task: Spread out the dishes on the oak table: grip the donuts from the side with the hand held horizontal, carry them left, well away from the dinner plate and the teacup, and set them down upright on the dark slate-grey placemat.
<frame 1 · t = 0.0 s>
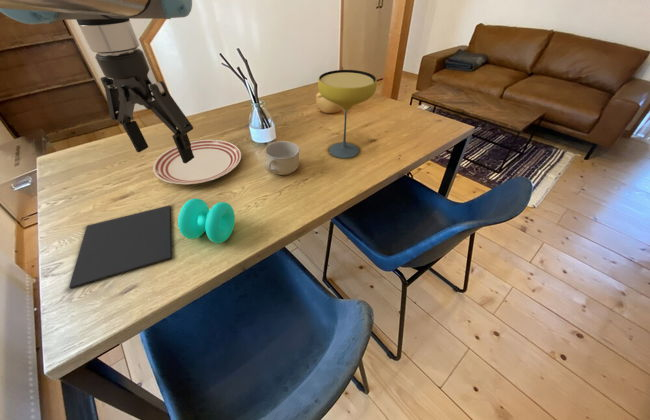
hand: (165, 154, 63), 19 cm above the table, tool pointing down, fingers open, 13 cm apart
teacup: (281, 172, 91), on the table
donuts: (213, 235, 70), on the table
placemat: (127, 242, 68), on the table
dinner plate: (201, 167, 93), on the table
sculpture: (329, 111, 127), on the table
cocktail glass: (343, 151, 101), on the table
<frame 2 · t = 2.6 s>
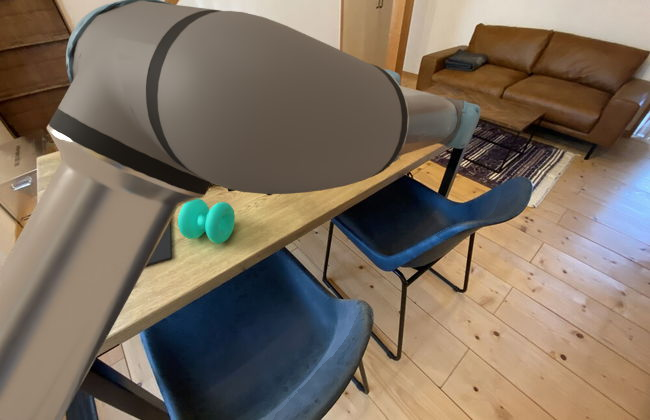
hand: (229, 165, 57), 20 cm above the table, tool horizontal, fingers open, 13 cm apart
nothing on the table moved.
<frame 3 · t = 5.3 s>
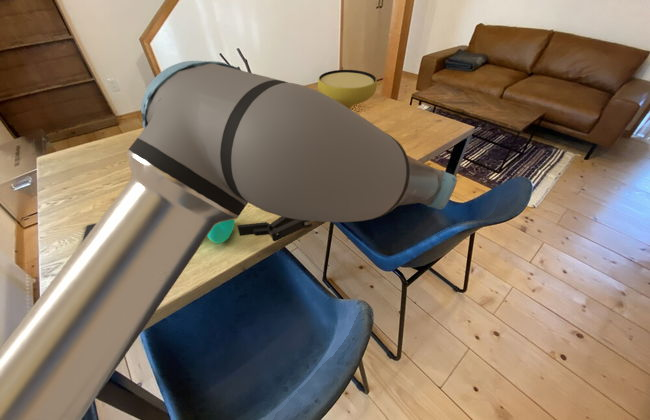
hand: (241, 210, 66), 7 cm above the table, tool horizontal, fingers open, 13 cm apart
nothing on the table moved.
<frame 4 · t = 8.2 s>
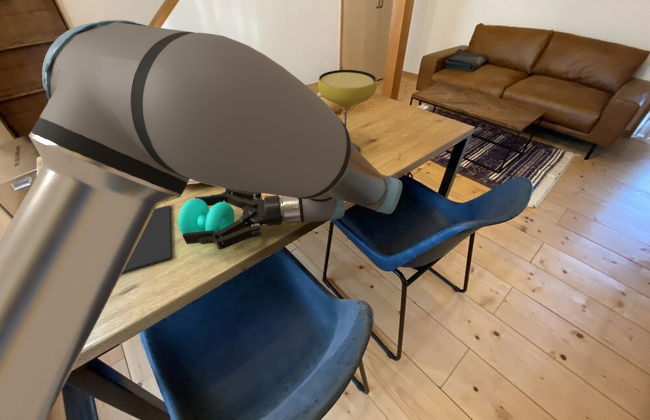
hand: (190, 219, 66), 6 cm above the table, tool horizontal, fingers closed on donuts, 12 cm apart
donuts: (213, 235, 70), on the table, touching gripper
everything else where it was.
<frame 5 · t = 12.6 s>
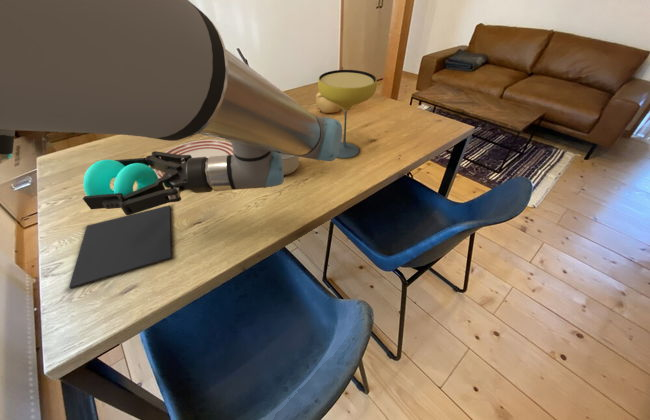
hand: (102, 183, 57), 18 cm above the table, tool horizontal, fingers closed on donuts, 12 cm apart
donuts: (135, 203, 61), point 12 cm above the table, touching gripper
everything else where it was.
when the fingers open (7 cm above the table, at t = 17.3 s): donuts stays where it is, resting on placemat.
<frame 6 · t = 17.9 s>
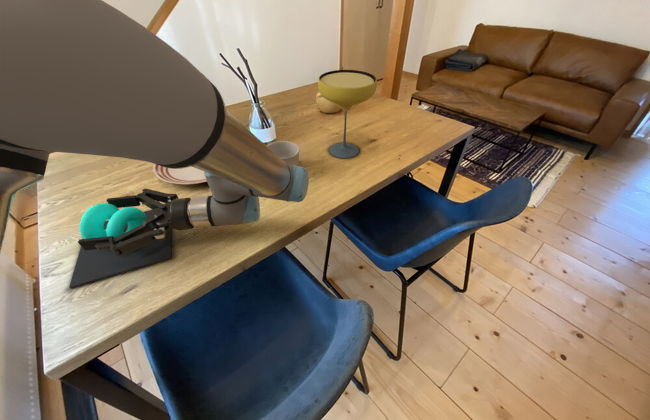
hand: (96, 222, 63), 7 cm above the table, tool horizontal, fingers open, 13 cm apart
donuts: (126, 240, 68), resting on placemat
everything else where it was.
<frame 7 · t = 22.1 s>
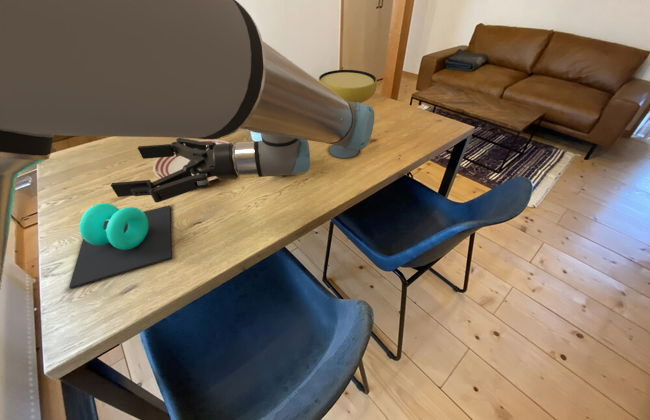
hand: (128, 169, 56), 21 cm above the table, tool horizontal, fingers open, 13 cm apart
nothing on the table moved.
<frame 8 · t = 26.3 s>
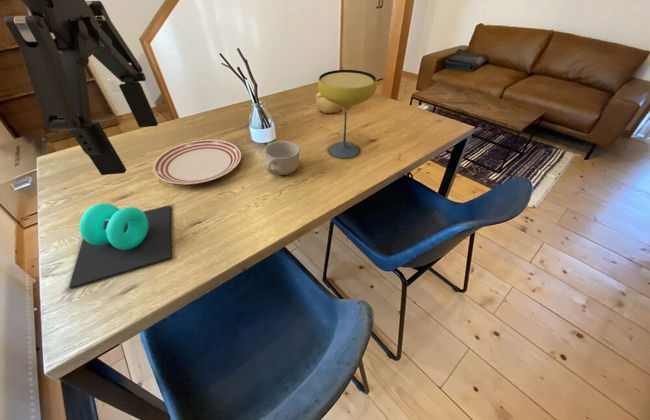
hand: (133, 146, 40), 32 cm above the table, tool pointing down, fingers open, 13 cm apart
nothing on the table moved.
at the end: donuts inside the target area on the placemat (0.0 cm from its centre), point 0.4 cm above the placemat's base; donuts tilted 0° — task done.
